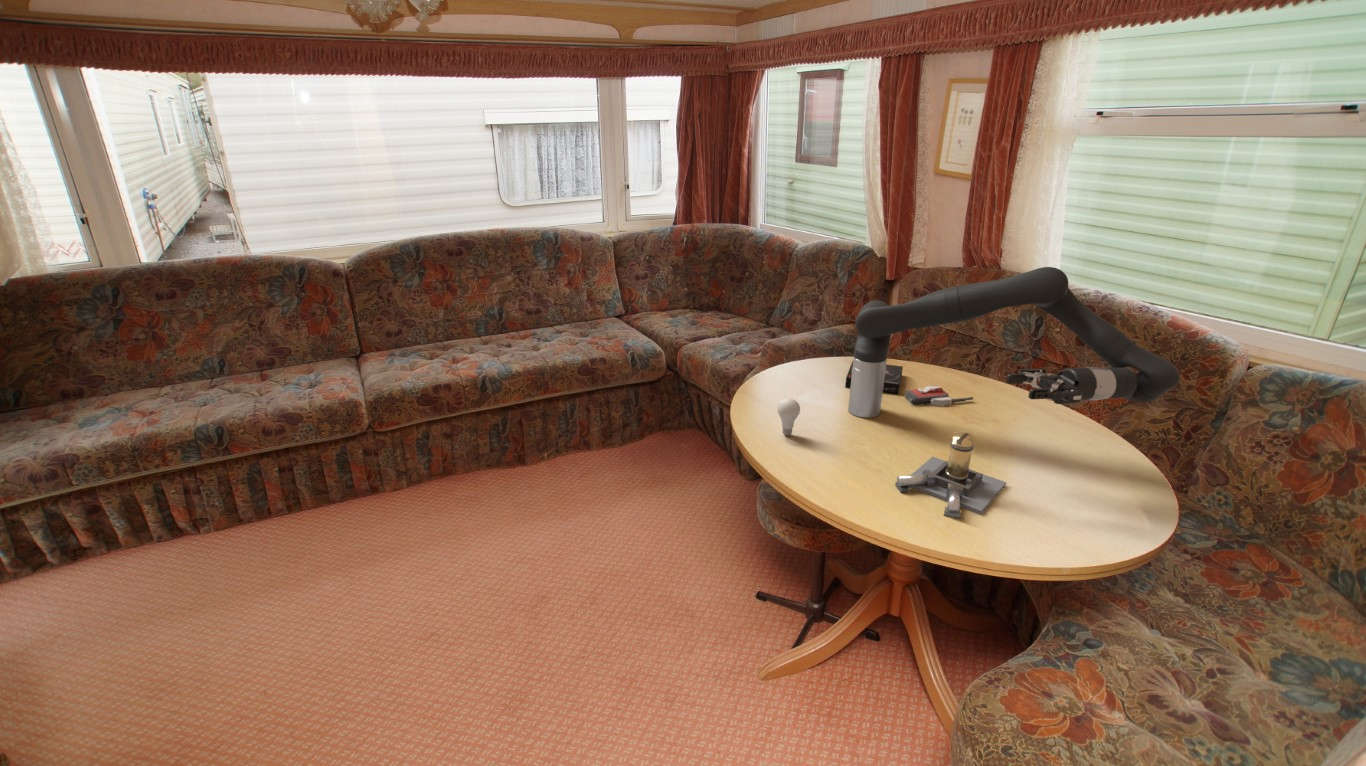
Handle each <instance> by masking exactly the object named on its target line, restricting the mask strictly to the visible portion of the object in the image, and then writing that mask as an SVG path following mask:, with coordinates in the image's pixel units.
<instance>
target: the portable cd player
mask: <svg viewBox="0 0 1366 766" xmlns="http://www.w3.org/2000/svg"><path fill="white" fill-rule="evenodd" d="M852 368H853V360H852V362H851V364H850V365H849V369H848V372H847V375H846V377H845V383H844V384H845V386H844V388H845V389H850V387H851V377H852ZM903 368H904V366H902V365H893V364H887V363H886V370H885V378H884V386H883V394H889V395H896V396H897V395H899V392H900V388H901V387H900V386H901V381H902V375H903V370H904V369H903Z"/></svg>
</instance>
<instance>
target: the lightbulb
mask: <svg viewBox="0 0 1366 766" xmlns="http://www.w3.org/2000/svg"><path fill="white" fill-rule="evenodd" d="M776 408H777V414H778V416H779V418H780V420H781V426H782V434H783V435H784V436H787V437H788V436H789V435H792V433H793V428H794V426H795V421H796V420H797V418H798V416H799V415H800V413H801V406H800V404H799V402H798V401H797V400H796V399H794V398H791V397H786V398H784V399H782V400H780V402H778V404H777V407H776Z"/></svg>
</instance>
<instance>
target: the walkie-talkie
mask: <svg viewBox="0 0 1366 766" xmlns="http://www.w3.org/2000/svg"><path fill="white" fill-rule="evenodd" d="M904 395H905V396H904V399H906V400H907V401H908V402H909V403H910V404H911V405H914V406H917V407H918V406H924V405H931V406H936V407H944V406H952V404H955V403H959V402H960V403H961V402H962V403H963V402H966V401H970V400H971V401H972V400H974V397H972V396H970V397H969V396H968V397H961V398H951V397H950V395H949V392H946V391H945V390H944V389H943V388H942V387H941V386H939V385H927V386H925V387H923V388H920V387H917V388H916V389H907V390H905V394H904Z"/></svg>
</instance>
